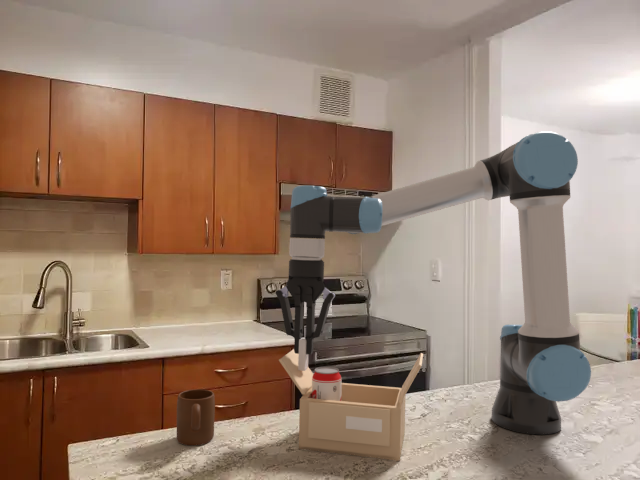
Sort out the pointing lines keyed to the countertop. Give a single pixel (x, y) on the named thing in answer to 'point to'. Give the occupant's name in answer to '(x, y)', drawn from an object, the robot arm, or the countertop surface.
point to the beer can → (327, 384)
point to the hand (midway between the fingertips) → (303, 369)
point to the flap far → (297, 371)
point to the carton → (354, 422)
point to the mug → (195, 417)
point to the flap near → (411, 377)
